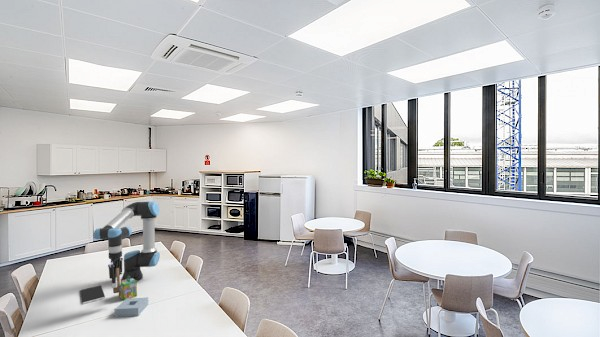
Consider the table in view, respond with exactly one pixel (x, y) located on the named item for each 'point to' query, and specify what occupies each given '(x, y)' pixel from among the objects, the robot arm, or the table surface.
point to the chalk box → (128, 288)
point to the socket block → (131, 307)
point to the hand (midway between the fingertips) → (116, 285)
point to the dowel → (116, 290)
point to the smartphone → (92, 294)
